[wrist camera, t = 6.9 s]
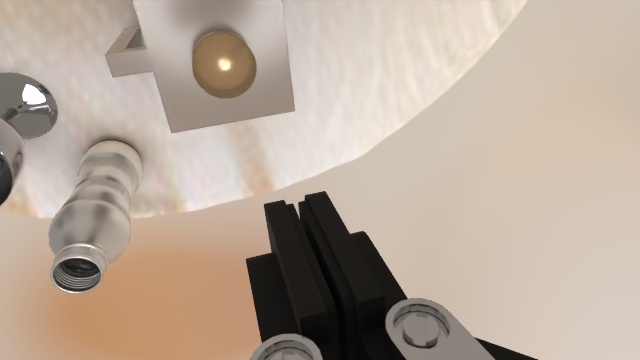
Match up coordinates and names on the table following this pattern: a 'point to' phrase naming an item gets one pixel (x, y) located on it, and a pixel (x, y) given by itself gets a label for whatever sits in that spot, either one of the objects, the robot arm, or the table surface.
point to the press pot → (176, 58)
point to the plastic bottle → (95, 217)
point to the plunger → (223, 64)
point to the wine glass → (21, 124)
